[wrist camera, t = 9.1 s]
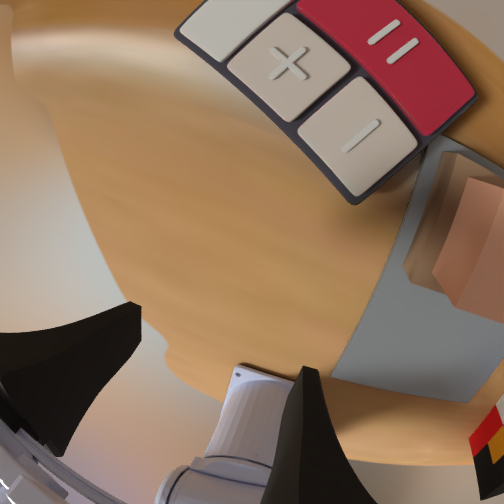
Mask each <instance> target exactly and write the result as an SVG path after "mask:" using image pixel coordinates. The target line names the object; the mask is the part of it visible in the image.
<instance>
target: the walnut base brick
mask: <svg viewBox="0 0 504 504" xmlns="http://www.w3.org/2000/svg"><path fill="white" fill-rule="evenodd" d="M468 177H470V178H473V179H476V180H479V181H483V182H486V183H489V184H491V185H494V186H497V187H500V188H503V189H504V179H502V178H501V177H499V176H497V175H496V174H494V173H492V172H491V171H489V170H487V169H486V168H484V167H482V166H480V165H479V164H477V163H475V162H473V161H471V160H470V159H468V158H466V157H464V156H462V155H460V154H458V153H451V152H442V153H441V157H440V160H439V164H438V168H437V171H436V174H435V178H434V181H433V184H432V187H431V191H430V194H429V197H428V200H427V203H426V206H425V208H424V211H423V214H422V217H421V220H420V222H419V225H418V228H417V230H416V233H415V236H414V238H413V241H412V243H411V246H410V248H409V251H408V253H407V255H406V258H405V260H404V262H403V265H402V267H403V269H404V271H405V273H406V275H407V277H408V279H409V280H410V282H411V283H413V284H416V285H419V286H422V287H425V288H428V289H430V290H433V291H436V292H439V293H442V294H445V295H446V293H445V292H444V290H443V289H442V287H441V286H440V284H439V283H438V281H437V280H436V278H435V277H434V275H433V274H432V271H433V269H434V266H435V264H436V262H437V260H438V258H439V255H440V253H441V251H442V248H443V246H444V244H445V241H446V239H447V236H448V234H449V231H450V229H451V226H452V223H453V221H454V218H455V215H456V212H457V210H458V207H459V204H460V201H461V198H462V195H463V192H464V189H465V186H466V182H467V179H468Z"/></svg>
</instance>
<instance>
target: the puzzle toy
mask: <svg viewBox="0 0 504 504" xmlns="http://www.w3.org/2000/svg"><path fill="white" fill-rule="evenodd" d="M469 442H470V446H471V450H472V455H473V459H474V464H475V469H476V475H477V480H478V486H479V493H480V500H485V499H488V498H491V497H494V496H497V495H500V494H502V493H504V393H503V395H502V396H501V398H500V399H499V401H498V402H497V403H496V405H495V406H494V407H493V409H492V410H491V412H490V413H489V414H488V415H487V417H486V418H485V419H484V421H483V422H482V423H481V424H480V426H479V427H478V428H477V429H476V430H475V432H474V433H473V434H472V435H471V436H470V438H469Z"/></svg>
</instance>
